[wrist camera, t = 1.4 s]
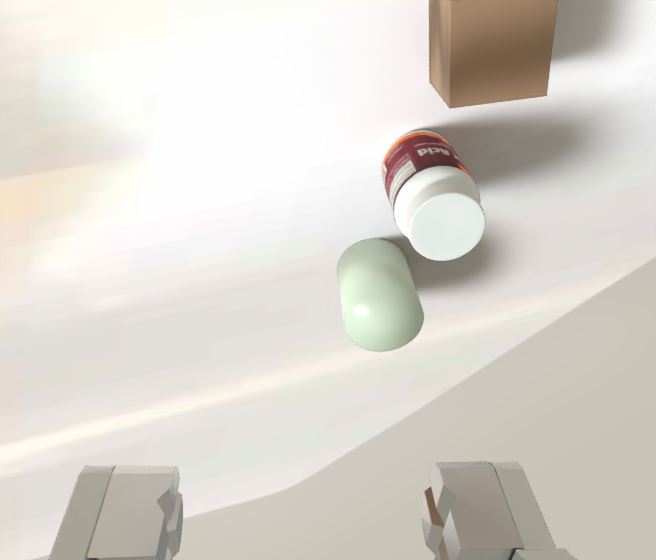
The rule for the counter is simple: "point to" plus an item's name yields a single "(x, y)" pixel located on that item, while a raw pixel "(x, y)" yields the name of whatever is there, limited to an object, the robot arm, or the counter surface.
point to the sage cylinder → (378, 296)
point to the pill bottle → (432, 196)
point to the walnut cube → (490, 49)
